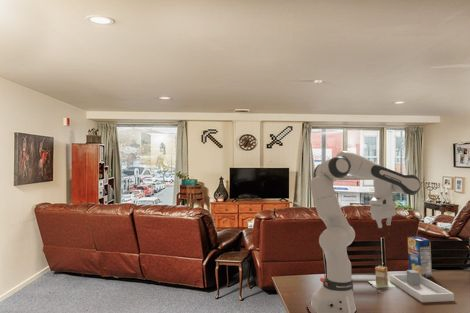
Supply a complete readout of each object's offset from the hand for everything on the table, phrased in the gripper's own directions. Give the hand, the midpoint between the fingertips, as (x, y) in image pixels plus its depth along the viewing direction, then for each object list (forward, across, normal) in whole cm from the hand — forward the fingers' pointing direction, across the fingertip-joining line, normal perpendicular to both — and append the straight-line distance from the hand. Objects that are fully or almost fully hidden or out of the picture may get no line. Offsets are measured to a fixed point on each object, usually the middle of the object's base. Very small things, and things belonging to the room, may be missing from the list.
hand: (384, 226), depth 167 cm
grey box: (+34, -22, +4) cm, 41 cm away
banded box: (+34, -10, -8) cm, 36 cm away
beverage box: (+35, -43, 0) cm, 55 cm away
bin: (+35, -15, +10) cm, 39 cm away
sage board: (+35, -10, -8) cm, 37 cm away
